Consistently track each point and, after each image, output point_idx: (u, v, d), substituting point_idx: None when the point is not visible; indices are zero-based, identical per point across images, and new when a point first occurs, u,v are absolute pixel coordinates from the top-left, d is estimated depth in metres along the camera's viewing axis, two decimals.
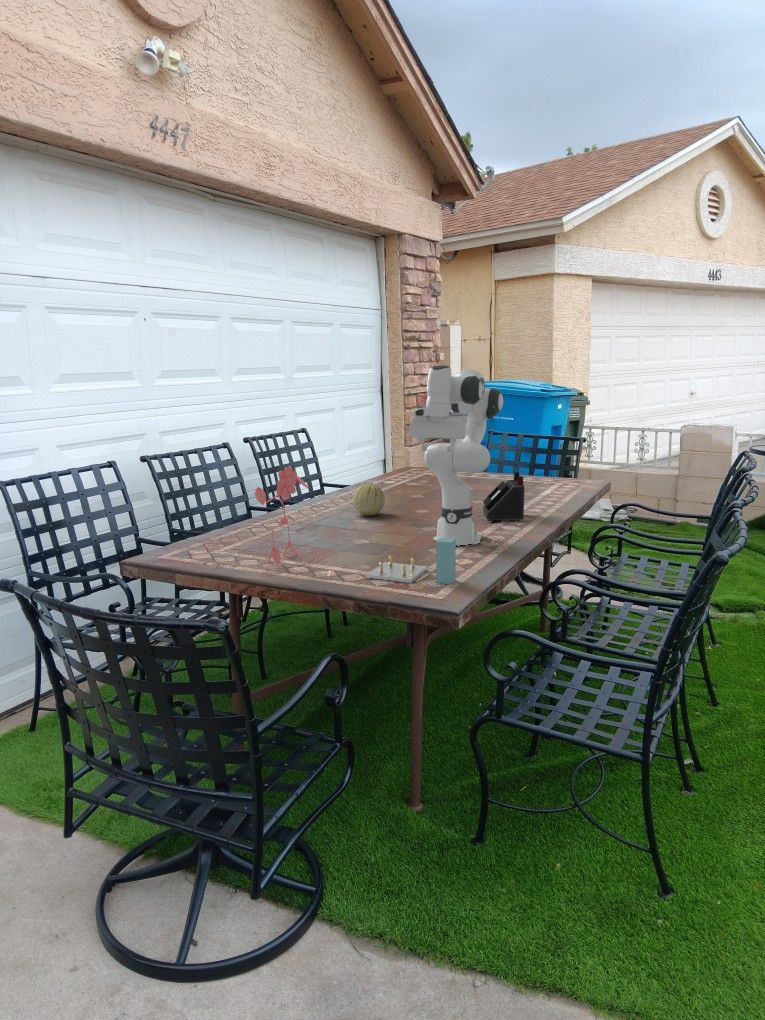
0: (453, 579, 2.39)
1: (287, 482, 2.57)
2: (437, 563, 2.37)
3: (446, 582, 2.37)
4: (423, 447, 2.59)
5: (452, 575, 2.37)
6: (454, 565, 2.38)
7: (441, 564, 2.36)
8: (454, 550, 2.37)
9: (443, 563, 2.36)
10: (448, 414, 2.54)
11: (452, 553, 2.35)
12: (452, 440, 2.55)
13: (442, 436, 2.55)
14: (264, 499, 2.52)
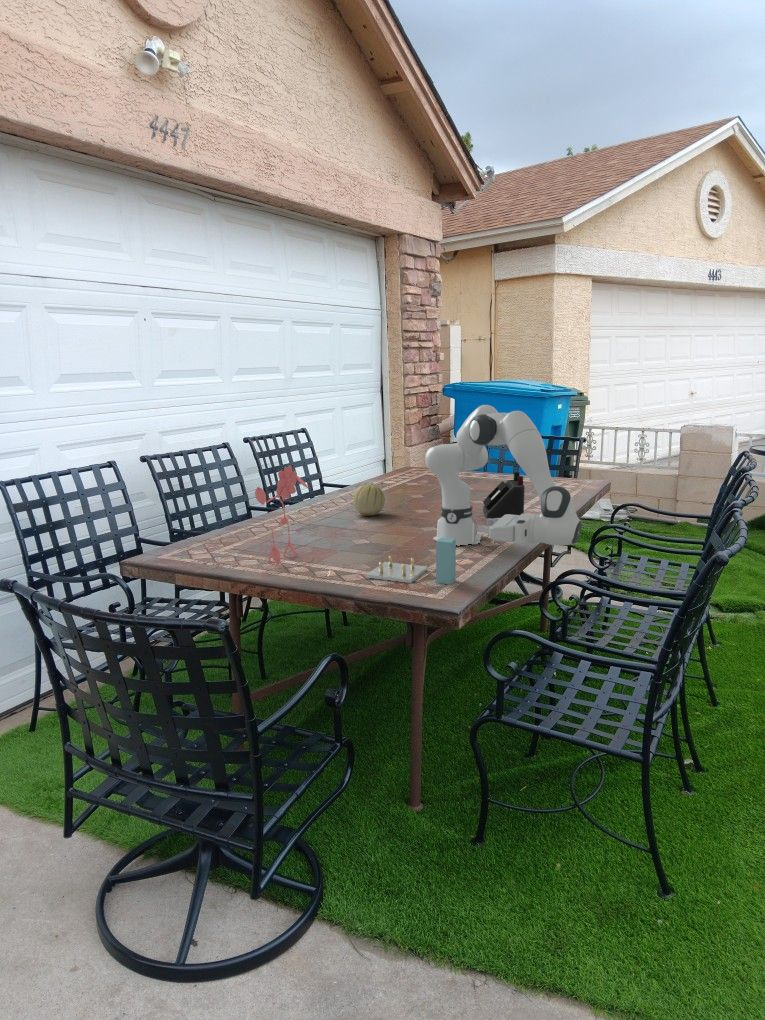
0: (453, 579, 2.39)
1: (287, 482, 2.57)
2: (437, 564, 2.37)
3: (446, 582, 2.37)
4: None
5: (452, 575, 2.37)
6: (454, 565, 2.38)
7: (441, 564, 2.36)
8: (454, 550, 2.37)
9: (443, 563, 2.36)
10: None
11: (452, 553, 2.35)
12: None
13: None
14: (264, 499, 2.52)
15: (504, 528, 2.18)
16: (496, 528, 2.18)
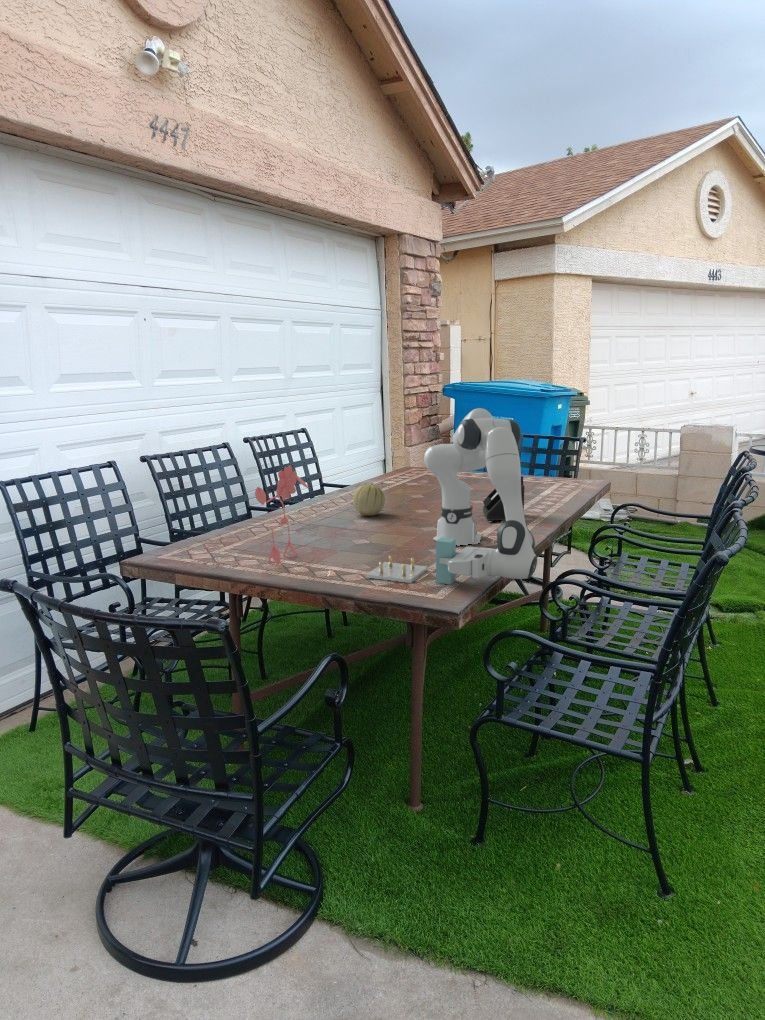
0: (453, 579, 2.39)
1: (287, 482, 2.57)
2: (437, 563, 2.37)
3: (446, 582, 2.37)
4: None
5: (452, 575, 2.37)
6: None
7: (441, 564, 2.36)
8: (454, 550, 2.37)
9: None
10: None
11: (452, 553, 2.35)
12: None
13: None
14: (264, 499, 2.52)
15: (462, 562, 2.25)
16: (454, 562, 2.26)
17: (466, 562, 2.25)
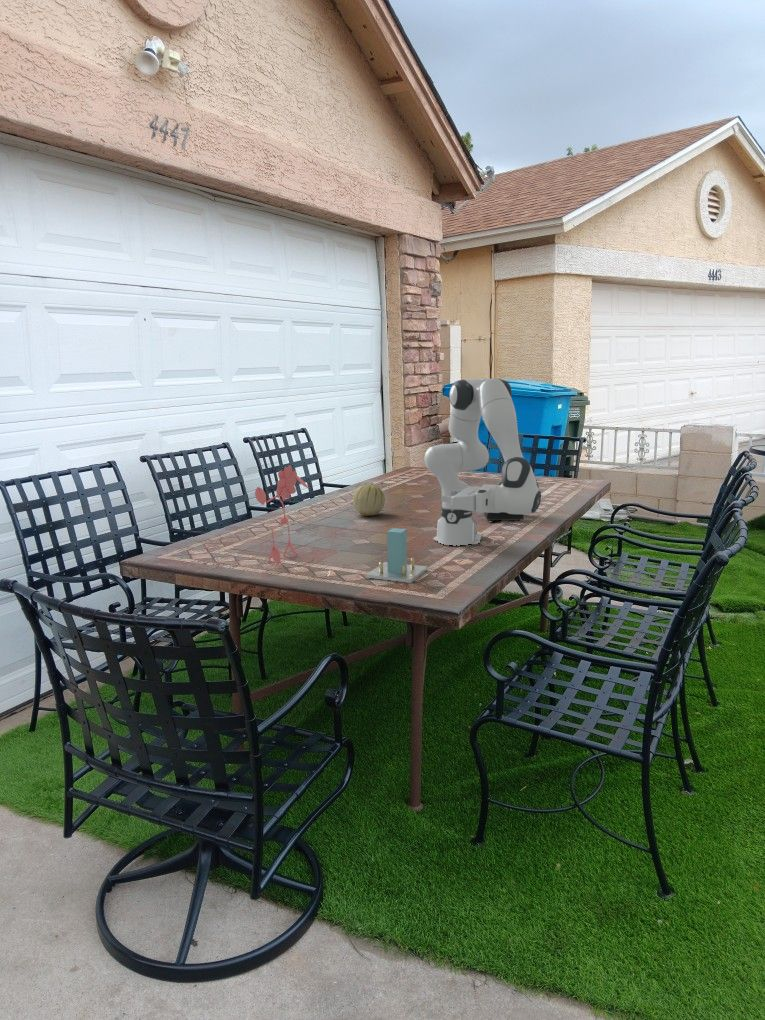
0: None
1: (287, 482, 2.57)
2: (389, 553, 2.45)
3: (397, 571, 2.45)
4: None
5: (403, 564, 2.46)
6: (405, 555, 2.47)
7: (392, 554, 2.45)
8: (405, 540, 2.46)
9: (394, 553, 2.44)
10: None
11: (402, 542, 2.44)
12: None
13: None
14: (264, 499, 2.52)
15: (465, 497, 2.24)
16: (458, 497, 2.24)
17: (469, 497, 2.24)
